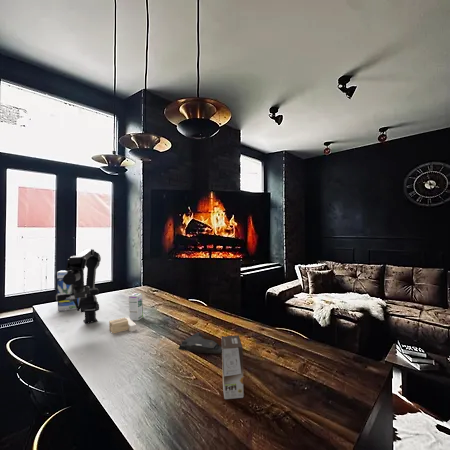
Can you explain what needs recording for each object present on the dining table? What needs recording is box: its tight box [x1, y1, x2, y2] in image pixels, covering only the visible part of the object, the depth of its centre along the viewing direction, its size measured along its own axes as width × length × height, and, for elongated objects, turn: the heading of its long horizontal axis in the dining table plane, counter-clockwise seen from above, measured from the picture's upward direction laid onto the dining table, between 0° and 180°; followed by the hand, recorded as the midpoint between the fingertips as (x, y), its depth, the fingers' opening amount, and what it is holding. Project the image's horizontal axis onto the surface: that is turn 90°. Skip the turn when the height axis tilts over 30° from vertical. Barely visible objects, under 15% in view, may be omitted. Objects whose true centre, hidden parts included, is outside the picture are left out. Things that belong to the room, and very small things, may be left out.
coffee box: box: [221, 334, 245, 400], centre depth 85 cm, size 9×6×16 cm
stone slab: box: [177, 331, 222, 354], centre depth 116 cm, size 22×16×5 cm
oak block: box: [108, 317, 129, 335], centre depth 137 cm, size 6×8×5 cm
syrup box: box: [128, 292, 144, 321], centre depth 153 cm, size 6×6×14 cm
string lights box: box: [56, 269, 79, 311], centre depth 176 cm, size 13×8×26 cm, turn 104°
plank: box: [125, 316, 137, 333], centre depth 141 cm, size 14×3×3 cm, turn 37°
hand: (78, 310), depth 133 cm, fingers closed
